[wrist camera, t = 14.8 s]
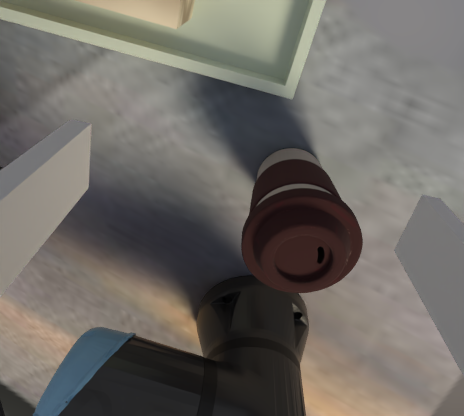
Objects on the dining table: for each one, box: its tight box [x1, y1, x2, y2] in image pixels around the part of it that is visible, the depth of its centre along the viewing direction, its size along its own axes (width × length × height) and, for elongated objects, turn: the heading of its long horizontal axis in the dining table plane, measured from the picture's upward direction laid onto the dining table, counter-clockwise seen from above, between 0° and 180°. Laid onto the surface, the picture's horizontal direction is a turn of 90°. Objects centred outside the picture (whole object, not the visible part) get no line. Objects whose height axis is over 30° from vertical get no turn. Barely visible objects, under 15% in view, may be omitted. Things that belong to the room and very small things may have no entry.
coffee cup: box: [241, 148, 363, 293], centre depth 38 cm, size 10×10×15 cm
